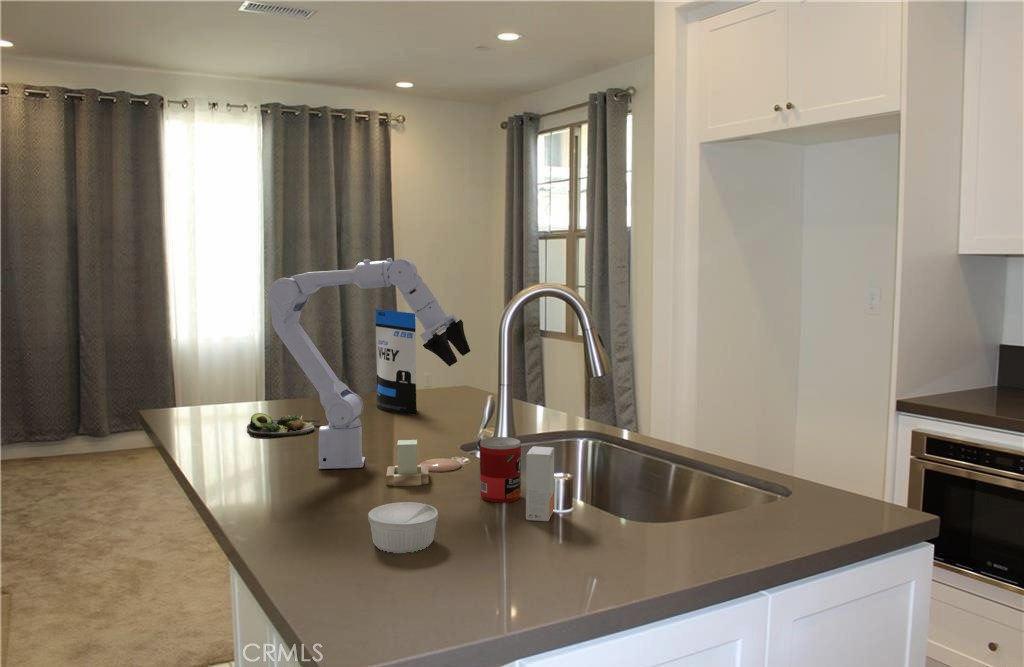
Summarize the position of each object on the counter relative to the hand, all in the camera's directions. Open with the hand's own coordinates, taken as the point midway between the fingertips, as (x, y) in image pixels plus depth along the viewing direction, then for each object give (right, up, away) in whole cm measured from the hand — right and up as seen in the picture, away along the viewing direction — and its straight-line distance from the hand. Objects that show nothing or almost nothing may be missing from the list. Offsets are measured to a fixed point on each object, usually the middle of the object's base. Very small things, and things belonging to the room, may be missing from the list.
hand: (460, 358), depth 173 cm
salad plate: (-51, -21, +39) cm, 68 cm away
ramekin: (-6, -29, -45) cm, 54 cm away
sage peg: (-10, -25, -9) cm, 28 cm away
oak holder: (-10, -25, -9) cm, 28 cm away
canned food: (+9, -26, -21) cm, 35 cm away
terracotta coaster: (-5, -24, +2) cm, 24 cm away
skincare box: (+16, -27, -32) cm, 45 cm away
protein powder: (-24, -18, +69) cm, 75 cm away
